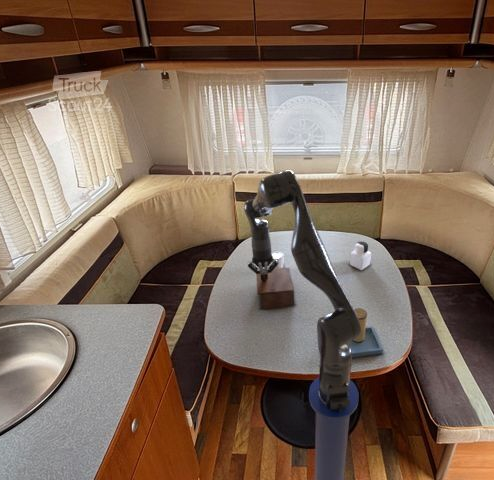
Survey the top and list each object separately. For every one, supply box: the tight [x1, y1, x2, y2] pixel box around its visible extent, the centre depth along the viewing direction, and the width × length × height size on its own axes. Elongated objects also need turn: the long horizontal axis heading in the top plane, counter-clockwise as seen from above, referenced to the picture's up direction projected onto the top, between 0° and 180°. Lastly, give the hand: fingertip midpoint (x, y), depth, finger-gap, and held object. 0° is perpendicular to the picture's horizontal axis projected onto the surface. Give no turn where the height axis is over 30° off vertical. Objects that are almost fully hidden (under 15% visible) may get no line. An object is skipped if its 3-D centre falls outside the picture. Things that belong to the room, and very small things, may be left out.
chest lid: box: [255, 267, 295, 295], centre depth 150 cm, size 15×16×1 cm
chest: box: [259, 291, 295, 310], centre depth 153 cm, size 14×16×7 cm
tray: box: [347, 325, 384, 358], centre depth 130 cm, size 12×16×2 cm
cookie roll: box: [352, 307, 368, 343], centre depth 129 cm, size 5×5×12 cm
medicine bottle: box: [349, 240, 372, 271], centre depth 170 cm, size 7×7×12 cm
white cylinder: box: [270, 251, 285, 268], centre depth 170 cm, size 7×7×7 cm
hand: (264, 280), depth 150 cm, fingers closed
